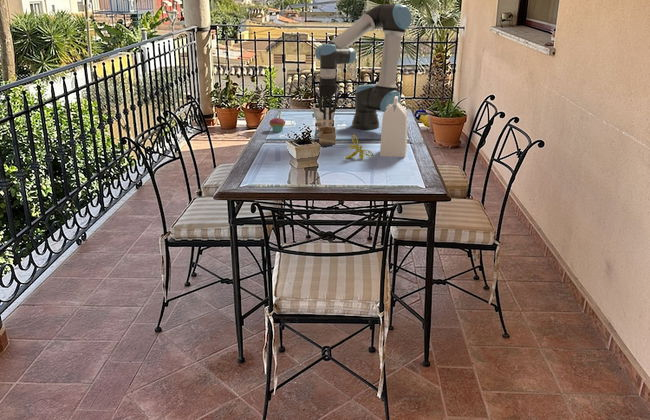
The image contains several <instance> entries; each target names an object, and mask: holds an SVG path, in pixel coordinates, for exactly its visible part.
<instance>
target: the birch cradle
mask: <svg viewBox="0 0 650 420" xmlns="http://www.w3.org/2000/svg"><path fill="white" fill-rule="evenodd" d="M318 135H319V136H318V143H320V144H319V145H336V127H335V126H332V134H323V126H319V134H318Z"/></svg>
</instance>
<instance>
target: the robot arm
mask: <svg viewBox="0 0 650 420" xmlns="http://www.w3.org/2000/svg"><path fill="white" fill-rule="evenodd" d="M412 17H413V15H412V12H411V10H410V8H409V7H408V6H407V5H404V4H399V3H396V4H394V3H392V4H391V3H390V4H389V3H387V4H386V3H382V4H379V5H378V4H377V5H375V6H374V7H372V8H371V9H369V10H368V11H366V12H365V13H363V14H362V15H361V16H360V19H359V20H357V21H356V22H354V23H353V24H351V26H349V27H348V28H347V29H345V30H344V31H342V32H341V33H340V34H339V35H337V36H335V37H334V38H333V39H331V41H329V42H327V43H323V44H321V45H318V46H317V47H316V49H315V51H314V55H315V57H316V60H319V61H320V62H319V66H320V67H319V76H320V78H319V87H318V90H316V91H315V92H314V95H315V97H316V101H317V104H318V108H319V112H320V113H322V114H323V116H322V117H323V119H324V120H326V127H329V120H331V119H332V114H333V113H335V112H336V109H337V105H338V101H339V97H340V96H341V95H342V93H341V92H340V91H338V90H337V88H336V82H337V81H336V80H337V79H336V76H337V75H336V74H337V65H349V64H352V63H354V62H355V61H356V58H357V53H356V50H355V49H354V48H352V47H350V46H351V45H353V44H354V43H356V41H358V40H360V38H362V37H363V36H365V35H366V34H368V33H369V32H373V31H374V30H376V29H381V28H382V32H383V34H384V40H383V47H382V53H381V54H382V55H381V63H380V70H379V71H380V72H379V78H378V79H379V80H378V82H377V83H372V84H371V83H370V84H359V85H357V86H356V87H355V88H356V89H355V111H354V116H353V119H352V121H351V127H352V128H354V129H359V130H374V129H379V127H380V122H379V121H380V120H379V118H378V113H377V111H379V112H382V113H384V112H385V110H386V107H387V106H388V105H389V104H391V105H392V104H393V103H394V98H395V96H398V102H399V103H400V104H401V95H400V92H399V91H398V86H397V84H396V79H397V72H398V64H399V56H400V50H401V43H402V42H401V41H402V37H403V36H404V35H405V33H406V29H409V28H410V26H411V24H412V19H413V18H412ZM320 94H321V96H322V97H323V107H322V103H321V98H320ZM334 95H335V99H334V103H333V107H332V97H333V96H334ZM327 98H328V112H327ZM323 119H322V120H323Z"/></svg>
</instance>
